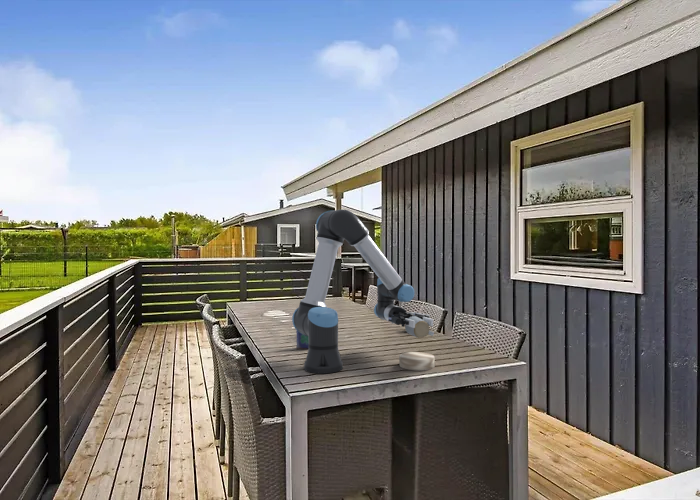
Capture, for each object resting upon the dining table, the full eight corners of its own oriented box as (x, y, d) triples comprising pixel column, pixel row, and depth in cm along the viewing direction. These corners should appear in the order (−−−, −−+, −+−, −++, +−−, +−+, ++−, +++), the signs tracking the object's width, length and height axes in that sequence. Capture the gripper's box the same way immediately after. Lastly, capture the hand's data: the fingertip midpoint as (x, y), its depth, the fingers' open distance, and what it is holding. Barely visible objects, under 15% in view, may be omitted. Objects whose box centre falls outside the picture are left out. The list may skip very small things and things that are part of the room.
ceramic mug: (414, 339, 183) (414, 319, 183) (404, 335, 191) (404, 316, 190) (437, 337, 187) (438, 318, 186) (427, 333, 194) (427, 315, 194)
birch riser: (421, 373, 179) (421, 362, 179) (392, 366, 189) (392, 356, 189) (441, 365, 190) (441, 355, 189) (412, 359, 199) (412, 350, 199)
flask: (295, 348, 218) (295, 325, 218) (297, 347, 221) (297, 324, 221) (315, 349, 217) (315, 326, 216) (316, 348, 220) (316, 325, 219)
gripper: (416, 321, 209) (445, 331, 188) (374, 325, 201) (400, 335, 180) (416, 304, 209) (445, 312, 188) (374, 307, 201) (400, 315, 180)
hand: (423, 323), depth 184 cm, fingers closed on ceramic mug, 7 cm apart
